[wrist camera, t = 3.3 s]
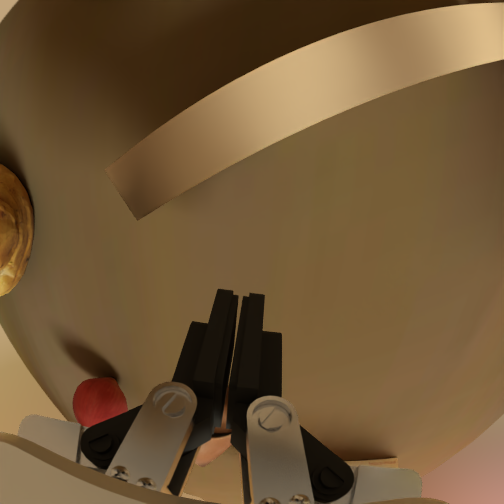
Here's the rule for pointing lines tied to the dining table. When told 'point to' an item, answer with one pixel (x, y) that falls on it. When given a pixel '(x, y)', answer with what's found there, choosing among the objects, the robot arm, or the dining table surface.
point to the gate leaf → (303, 96)
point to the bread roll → (14, 230)
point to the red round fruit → (98, 401)
